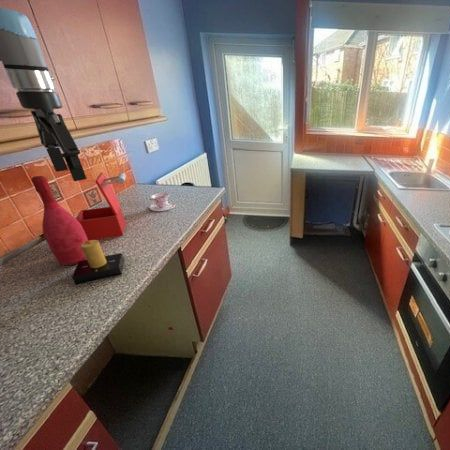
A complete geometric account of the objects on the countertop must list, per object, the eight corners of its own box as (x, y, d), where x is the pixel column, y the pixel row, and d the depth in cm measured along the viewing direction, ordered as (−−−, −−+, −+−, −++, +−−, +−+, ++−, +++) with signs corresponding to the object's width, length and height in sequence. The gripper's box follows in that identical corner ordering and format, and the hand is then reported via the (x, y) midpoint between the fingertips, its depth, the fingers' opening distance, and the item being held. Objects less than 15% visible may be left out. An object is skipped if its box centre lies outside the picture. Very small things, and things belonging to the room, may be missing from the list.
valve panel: (75, 284, 77) (71, 277, 75) (82, 268, 84) (78, 260, 82) (121, 274, 82) (118, 267, 80) (124, 259, 89) (121, 252, 87)
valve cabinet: (82, 242, 97) (73, 222, 93) (88, 228, 107) (80, 210, 102) (123, 235, 103) (116, 216, 99) (125, 223, 112) (119, 205, 108)
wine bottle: (52, 269, 83) (5, 182, 69) (66, 252, 91) (26, 172, 77) (87, 264, 86) (49, 180, 71) (98, 248, 94) (65, 171, 80)
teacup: (171, 200, 136) (168, 190, 133) (179, 207, 128) (176, 196, 126) (146, 206, 129) (143, 194, 126) (153, 214, 121) (150, 202, 118)
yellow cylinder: (109, 263, 82) (100, 241, 78) (93, 270, 79) (83, 248, 75) (103, 258, 84) (94, 237, 80) (87, 264, 81) (77, 243, 77)
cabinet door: (94, 181, 91) (120, 175, 94) (100, 172, 100) (123, 167, 103) (115, 215, 99) (137, 209, 101) (118, 204, 108) (139, 199, 110)
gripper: (75, 93, 58) (105, 180, 68) (40, 89, 70) (70, 164, 80) (31, 92, 52) (71, 188, 62) (1, 88, 64) (39, 169, 74)
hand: (70, 175), depth 71 cm, fingers open, 13 cm apart
